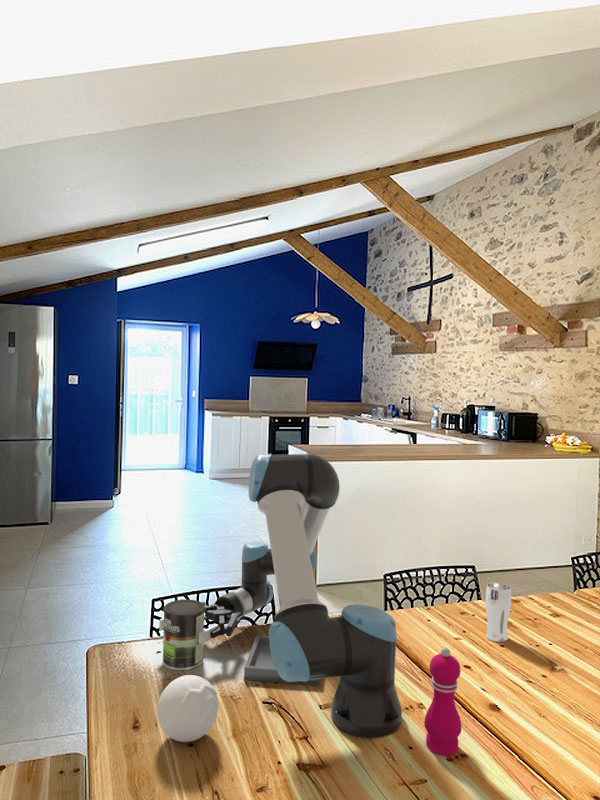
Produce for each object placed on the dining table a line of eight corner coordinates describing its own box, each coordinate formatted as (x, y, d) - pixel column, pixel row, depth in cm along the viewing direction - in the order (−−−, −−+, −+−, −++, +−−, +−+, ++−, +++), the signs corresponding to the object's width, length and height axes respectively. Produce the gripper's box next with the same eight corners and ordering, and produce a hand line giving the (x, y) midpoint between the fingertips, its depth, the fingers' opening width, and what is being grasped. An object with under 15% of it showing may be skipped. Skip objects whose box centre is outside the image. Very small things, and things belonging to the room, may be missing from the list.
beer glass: (512, 636, 172) (514, 585, 172) (506, 645, 166) (508, 592, 166) (487, 630, 176) (489, 580, 176) (481, 639, 170) (483, 587, 170)
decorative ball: (180, 764, 112) (181, 701, 112) (145, 736, 120) (146, 678, 120) (229, 737, 121) (230, 679, 120) (193, 713, 129) (194, 658, 128)
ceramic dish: (318, 685, 142) (319, 672, 142) (243, 679, 144) (244, 667, 144) (322, 651, 160) (323, 640, 160) (256, 646, 162) (256, 635, 161)
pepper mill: (461, 760, 115) (465, 658, 115) (423, 754, 117) (427, 653, 116) (459, 738, 123) (463, 642, 122) (423, 733, 124) (427, 638, 123)
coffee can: (178, 675, 145) (179, 618, 144) (154, 660, 152) (155, 606, 151) (212, 661, 152) (213, 607, 152) (187, 648, 159) (188, 596, 159)
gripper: (268, 630, 162) (217, 660, 145) (199, 608, 176) (144, 633, 158) (269, 602, 162) (217, 629, 144) (200, 583, 176) (145, 605, 158)
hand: (179, 631), depth 151 cm, fingers open, 13 cm apart
